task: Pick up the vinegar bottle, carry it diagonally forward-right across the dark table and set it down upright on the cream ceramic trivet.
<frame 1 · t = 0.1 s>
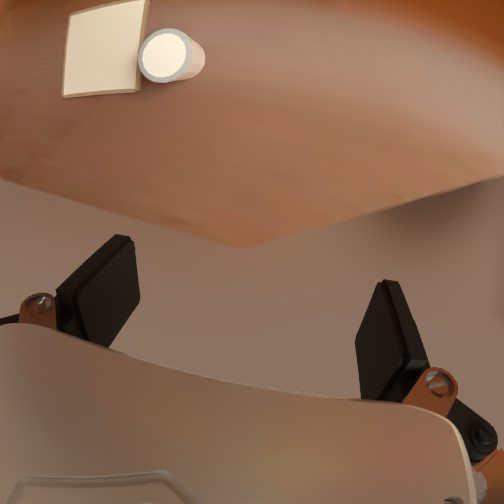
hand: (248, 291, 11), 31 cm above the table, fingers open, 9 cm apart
trivet: (102, 48, 34), on the table
short white cylinder: (185, 60, 34), on the table
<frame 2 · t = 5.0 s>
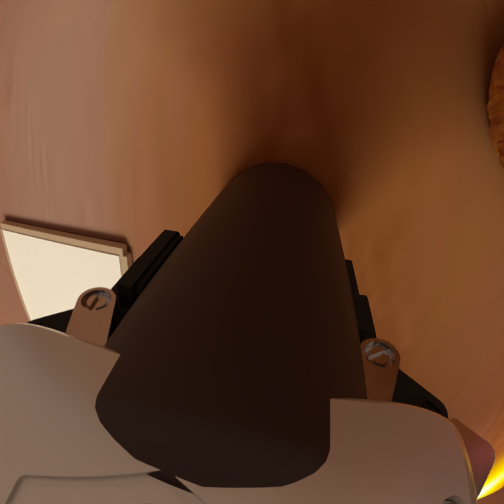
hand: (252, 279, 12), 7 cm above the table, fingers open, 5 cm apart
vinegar: (275, 217, 18), on the table, touching gripper
trivet: (71, 304, 25), on the table
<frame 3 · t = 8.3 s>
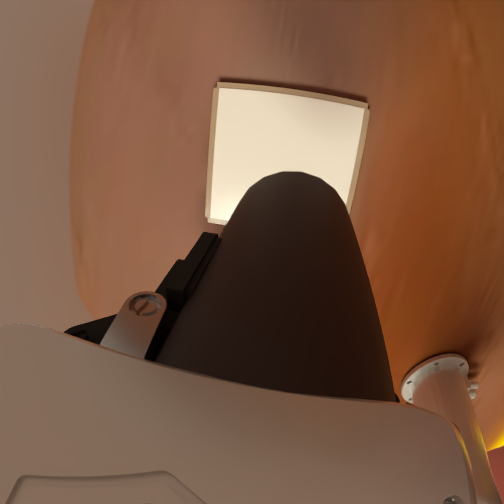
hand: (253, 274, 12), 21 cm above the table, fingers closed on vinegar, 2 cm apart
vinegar: (292, 222, 19), point 14 cm above the table, touching gripper
trivet: (283, 162, 30), on the table
when the fingers open (8 cm above the table, at t = 11.2 s): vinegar stays where it is, resting on trivet.
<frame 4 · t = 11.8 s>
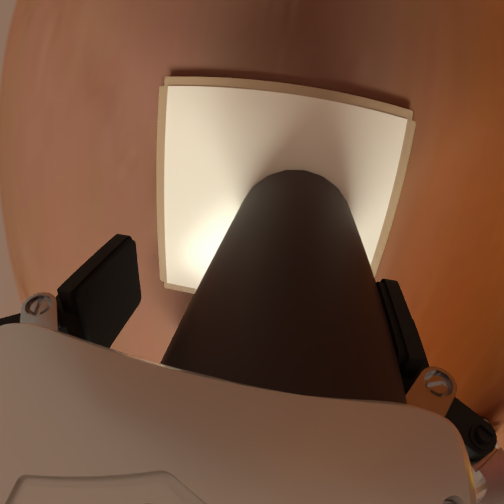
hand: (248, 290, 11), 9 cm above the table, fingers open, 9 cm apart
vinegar: (295, 220, 19), point 1 cm above the table, touching trivet
trivet: (273, 204, 19), on the table
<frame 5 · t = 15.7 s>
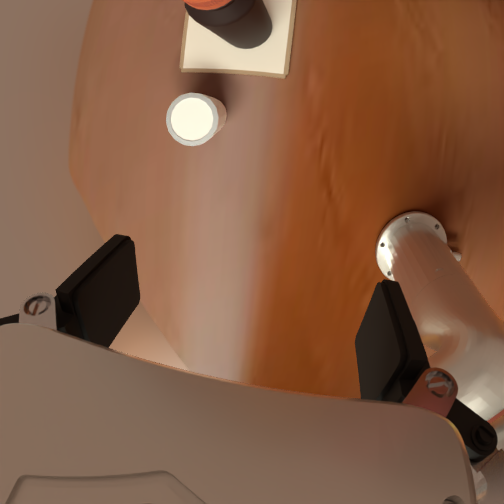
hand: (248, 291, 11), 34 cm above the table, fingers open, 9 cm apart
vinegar: (247, 27, 33), point 1 cm above the table, touching trivet
trivet: (237, 24, 33), on the table
short white cylinder: (208, 115, 41), on the table
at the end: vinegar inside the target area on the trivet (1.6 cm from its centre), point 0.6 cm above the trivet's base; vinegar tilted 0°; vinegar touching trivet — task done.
